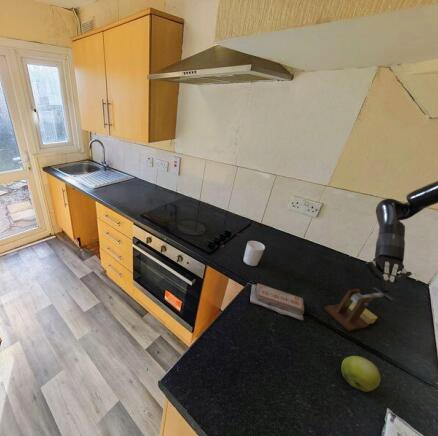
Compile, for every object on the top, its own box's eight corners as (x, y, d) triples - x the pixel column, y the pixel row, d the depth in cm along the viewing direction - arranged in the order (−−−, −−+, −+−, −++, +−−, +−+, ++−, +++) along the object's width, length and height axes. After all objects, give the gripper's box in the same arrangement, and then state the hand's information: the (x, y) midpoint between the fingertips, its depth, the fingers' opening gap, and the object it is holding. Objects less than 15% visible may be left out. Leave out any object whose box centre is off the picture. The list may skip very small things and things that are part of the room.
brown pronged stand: (341, 305, 90) (355, 282, 85) (367, 327, 81) (385, 303, 76) (323, 308, 88) (336, 285, 82) (348, 331, 79) (365, 307, 74)
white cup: (240, 256, 116) (245, 239, 111) (256, 258, 115) (262, 241, 111) (244, 265, 109) (249, 248, 104) (261, 268, 108) (267, 250, 104)
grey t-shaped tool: (374, 290, 87) (378, 285, 85) (392, 302, 81) (396, 297, 80) (344, 294, 83) (347, 289, 82) (361, 307, 78) (365, 302, 77)
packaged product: (303, 294, 87) (307, 312, 79) (299, 303, 90) (302, 321, 82) (254, 277, 94) (253, 293, 86) (251, 286, 96) (249, 302, 88)
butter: (351, 305, 90) (355, 300, 89) (373, 322, 83) (377, 317, 82) (344, 307, 89) (348, 301, 88) (366, 324, 82) (370, 318, 81)
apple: (373, 380, 65) (388, 364, 61) (368, 405, 59) (384, 388, 55) (340, 359, 70) (352, 343, 66) (332, 380, 64) (345, 363, 61)
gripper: (374, 239, 86) (368, 283, 82) (420, 250, 81) (417, 298, 77) (362, 244, 93) (357, 285, 88) (405, 254, 88) (401, 298, 83)
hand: (385, 291), depth 83 cm, fingers closed
